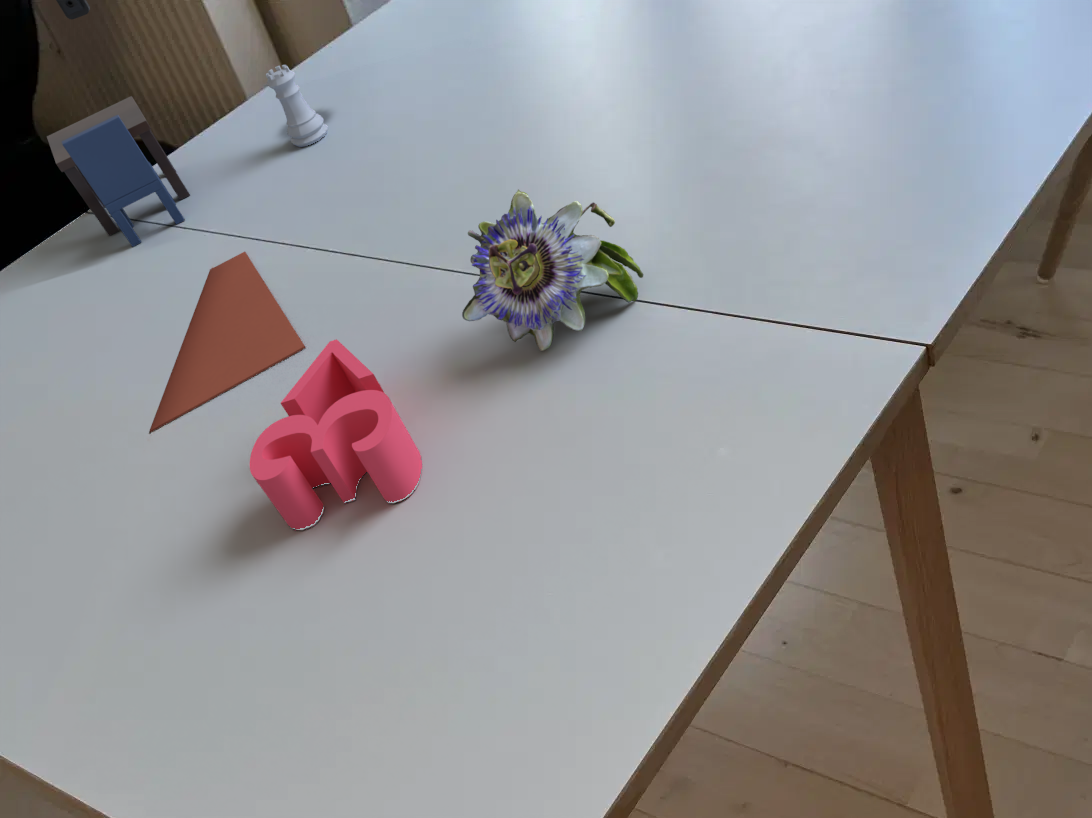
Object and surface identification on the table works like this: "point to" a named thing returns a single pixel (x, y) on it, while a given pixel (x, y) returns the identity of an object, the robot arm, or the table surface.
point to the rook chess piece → (296, 108)
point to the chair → (117, 171)
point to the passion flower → (543, 270)
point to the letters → (334, 440)
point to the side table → (136, 127)
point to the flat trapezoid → (227, 339)
